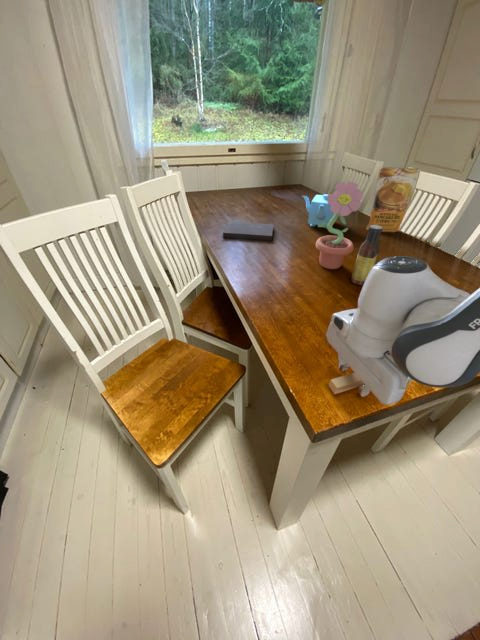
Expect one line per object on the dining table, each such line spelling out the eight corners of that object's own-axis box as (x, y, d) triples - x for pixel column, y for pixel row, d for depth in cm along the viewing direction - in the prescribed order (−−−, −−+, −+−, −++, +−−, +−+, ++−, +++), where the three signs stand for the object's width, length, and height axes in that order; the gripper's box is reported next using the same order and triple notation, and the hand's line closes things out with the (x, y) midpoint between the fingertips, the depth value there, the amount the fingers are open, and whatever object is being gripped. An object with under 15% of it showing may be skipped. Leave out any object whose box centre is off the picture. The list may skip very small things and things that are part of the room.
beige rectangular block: (364, 375, 65) (367, 368, 63) (371, 383, 63) (374, 376, 62) (328, 386, 62) (330, 379, 61) (334, 394, 60) (336, 387, 59)
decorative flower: (304, 267, 107) (319, 184, 88) (314, 254, 116) (329, 176, 97) (343, 276, 101) (368, 190, 82) (350, 261, 111) (374, 181, 92)
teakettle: (324, 217, 154) (330, 188, 145) (346, 228, 140) (354, 198, 131) (295, 221, 148) (299, 192, 139) (316, 233, 135) (321, 202, 125)
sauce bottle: (371, 286, 96) (391, 231, 84) (353, 286, 96) (370, 230, 84) (364, 277, 101) (382, 223, 89) (347, 276, 101) (363, 223, 89)
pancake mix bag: (360, 226, 142) (378, 166, 125) (398, 228, 141) (421, 167, 124) (363, 231, 137) (382, 168, 120) (403, 233, 136) (427, 170, 118)
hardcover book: (229, 225, 141) (229, 221, 140) (273, 228, 139) (273, 224, 137) (223, 237, 129) (222, 232, 128) (271, 241, 126) (271, 236, 125)
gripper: (427, 370, 46) (397, 416, 55) (351, 304, 61) (337, 348, 70) (398, 380, 45) (372, 425, 53) (327, 309, 60) (316, 354, 68)
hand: (352, 381), depth 62 cm, fingers open, 6 cm apart
